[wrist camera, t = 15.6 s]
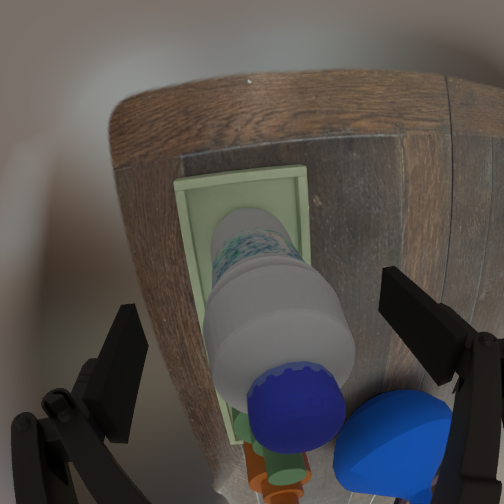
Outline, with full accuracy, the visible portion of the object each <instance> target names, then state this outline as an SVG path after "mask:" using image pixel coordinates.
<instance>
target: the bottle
mask: <svg viewBox="0 0 504 504" xmlns="http://www.w3.org/2000/svg"><path fill="white" fill-rule="evenodd" d="M210 254H211V262H212V291H211V293H210V295H209V297H208V300H207V303H206V307H205V316H204V320H203V339H204V343H205V346H206V351H207V355H208V360H209V365H210V371H211V376H212V380H213V383H214V386H215V388H216V390H217V392H218V393H219V395H220V396H221V398H222V399H223V400H224V401H226V402H227V403H228V404H229V405H230V406H231V407H233V408H235V409H237V410H238V411H240V412H243V413H246V414H248V418H249V424H250V428H251V431H252V433H253V435H254V437H255V439H256V440H257V442H258V443H259V444H261V445H262V446H264V447H265V448H267V449H268V450H270V451H273V452H276V453H280V454H296V453H302V452H306V451H310V450H313V449H316V448H318V447H320V446H322V445H324V444H326V443H327V442H329V441H330V440H331V439H333V438H334V437H335V436H336V435H337V434H338V433H339V431H340V429H341V428H342V426H343V424H344V420H345V418H346V405H345V401H344V398H343V395H342V393H341V391H340V389H341V387H342V386H343V385H344V384H345V382H346V381H347V379H348V378H349V376H350V374H351V372H352V369H353V366H354V363H355V353H356V348H355V343H354V339H353V336H352V334H351V331H350V329H349V326H348V324H347V321H346V319H345V316H344V314H343V311H342V308H341V304H340V301H339V299H338V297H337V294H336V293H335V291H334V290H333V288H332V287H331V285H330V284H329V283H328V282H326V281H325V279H324V278H323V277H322V275H321V274H320V273H319V272H318V271H317V270H315V269H314V268H313V267H312V266H311V265H309V264H307V263H305V261H304V260H303V258H302V257H301V255H300V254H299V252H298V251H297V249H296V248H295V246H294V245H293V243H292V241H291V238H290V236H289V234H288V232H287V231H286V229H285V227H284V226H283V224H282V223H281V222H280V221H279V220H278V219H277V218H276V217H275V216H274V215H272V214H271V213H270V212H268V211H266V210H263V209H255V208H239V209H236V210H234V211H233V212H231V213H230V214H229V215H227V216H226V217H225V218H224V219H223V220H222V221H220V222H219V223H218V224H217V225H216V227H215V229H214V232H213V235H212V239H211V246H210Z"/></svg>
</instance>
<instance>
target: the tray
mask: <svg viewBox="0 0 504 504" xmlns="http://www.w3.org/2000/svg"><path fill="white" fill-rule="evenodd" d="M173 184H174V191H175V197H176V203H177V209H178V216H179V221H180V227H181V233H182V239H183V244H184V250H185V255H186V261H187V266H188V271H189V276H190V281H191V286H192V291H193V296H194V301H195V305H196V310H197V315H198V319H199V324H200V328H201V333H202V337H203V320H204V316H205V307H206V303H207V300H208V297H209V295H210V293H211V291H212V262H211V254H210V246H211V239H212V235H213V232H214V229H215V227H216V225H217V224H218V223H219V222H220V221H222V220H223V219H224V218H225V217H226V216H227V215H229V214H230V213H231V212H233V211H234V210H236V209H239V208H255V209H263V210H266V211H268V212H270V213H271V214H272V215H274V216H275V217H276V218H277V219H278V220H279V221H280V222H281V223H282V224H283V226H284V227H285V229H286V231H287V232H288V234H289V236H290V238H291V241H292V243H293V245H294V246H295V248H296V249H297V251H298V252H299V254H300V255H301V257H302V258H303V260H304V261H305V263H307V264H309V265H311V249H310V223H309V202H308V185H307V168H306V166H304V165H301V164H295V165H283V166H272V167H262V168H252V169H243V170H235V171H226V172H219V173H211V174H204V175H197V176H190V177H183V178H177V179H176V180H175V181H174V182H173ZM203 341H204V339H203ZM204 346H205V343H204ZM205 350H206V346H205ZM206 354H207V351H206ZM207 358H208V355H207ZM208 362H209V360H208ZM209 366H210V365H209ZM215 390H216V388H215ZM216 394H217V398H218V401H219V405H220V409H221V412H222V416H223V420H224V423H225V427H226V430H227V434H228V437H229V441H230V444H231V445H234V444H242V443H244V441H243V440H242V439H240V438H239V437H238V436H237V435H236V433H235V431H234V428H233V419H232V407H231V406H230V405H229V404H228V403H227V402H226V401H224V400H223V399H222V398H221V396H220V395H219V393H218V392H217V390H216Z"/></svg>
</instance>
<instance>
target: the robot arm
mask: <svg viewBox="0 0 504 504" xmlns="http://www.w3.org/2000/svg"><path fill="white" fill-rule="evenodd" d="M378 311H379V312H380V313H381V315H382V316H383V317H384V318H385V319H386V321H387V322H388V323H389V324H390V326H391V327H392V328H393V329H394V330H395V332H396V333H397V334H398V335H399V337H400V338H401V339H402V340H403V342H404V343H405V344H406V345H407V347H408V348H409V349H410V350H411V352H412V353H413V354H414V355H415V357H416V358H417V359H418V361H419V362H420V363H421V364H422V366H423V367H424V368H425V370H426V371H427V372H428V373H429V375H430V376H431V377H432V379H433V380H434V381H435V383H436V384H437V385H438V386H441V385H443V384H446V383H448V382H450V381H451V380H452V378H453V375H454V373H455V371H456V373H457V374H458V375H459V378H458V380H457V383H456V385H455V387H454V390H453V392H452V393H453V394H454V393H455V391H456V394H455V401H454V407H453V414H452V419H451V425H450V430H449V435H448V440H447V444H446V449H445V453H444V457H443V461H442V465H441V469H440V473H439V476H438V480H437V483H436V486H435V490H434V493H433V496H432V499H431V502H430V504H499V502H500V496H501V491H502V483H501V481H498V480H497V479H496V473H497V466H498V457H499V449H500V435H501V418H502V422H503V428H504V338H503V339H497V338H496V337H495V336H494V335H492V334H491V333H488V332H479V333H478V332H477V331H476V330H475V329H474V328H472V327H471V326H470V325H469V324H468V323H467V322H466V321H465V320H464V319H463V318H462V319H461V317H460V316H459V315H458V314H456V312H455V311H454V310H453V309H452V308H450V307H449V306H447V305H445V304H443V303H439V304H438V303H437V302H435V301H434V300H433V299H432V298H431V297H430V296H429V295H428V294H426V293H425V292H424V291H423V290H422V289H421V288H420V287H418V286H417V285H416V284H415V283H414V282H413V281H412V280H410V279H409V278H408V277H407V276H406V275H405V274H403V273H402V272H401V271H400V270H399V269H397V268H396V267H395V266H391V267H386V268H383V271H382V282H381V292H380V301H379V309H378ZM147 350H148V343H147V340H146V337H145V334H144V331H143V328H142V325H141V322H140V319H139V316H138V313H137V309H136V306H135V304H126V305H121V306H120V309H119V311H118V313H117V315H116V317H115V319H114V322H113V324H112V326H111V328H110V331H109V333H108V335H107V338H106V340H105V342H104V345H103V347H102V349H101V352H100V354H99V356H98V358H94V359H93V358H91V359H89V360H88V361H87V362H86V363H85V364H84V365H83V366H82V368H81V371H80V373H79V376H78V377H77V380H76V382H75V384H74V387H73V389H72V392H71V394H70V393H69V392H68V391H67V390H66V389H63V388H58V389H54V390H51V391H50V392H48V393H47V394H46V395H45V396H44V398H43V399H42V402H41V405H42V408H43V410H44V411H45V413H46V414H47V415H48V417H49V418H44V419H38V420H37V418H36V417H35V416H34V415H33V414H32V413H29V412H23V413H21V414H19V415H17V416H16V417H15V418H14V420H13V421H12V425H11V452H12V469H13V480H14V490H15V498H16V504H79V503H78V500H77V496H76V493H75V489H74V485H73V482H72V477H71V473H70V469H69V465H68V462H73V464H74V466H75V468H76V470H77V471H78V473H79V475H80V477H81V478H82V480H83V482H84V483H85V485H86V487H87V488H88V490H89V492H90V493H91V495H92V496H93V498H94V499H95V501H96V502H97V504H151V503H150V502H149V501H148V499H147V498H146V497H145V496H144V495H143V494H142V492H141V491H140V490H139V489H138V488H137V486H136V485H135V484H134V483H133V482H132V480H131V479H130V478H129V476H128V475H127V474H126V473H125V471H124V470H123V469H122V468H121V466H120V465H119V463H117V461H116V459H115V458H114V457H113V456H112V454H111V453H110V451H109V450H108V448H107V447H106V446H105V445H104V443H103V442H104V438H105V435H106V437H107V438H108V440H109V441H110V442H111V443H124V444H127V443H128V439H129V434H130V428H131V423H132V418H133V413H134V408H135V403H136V398H137V394H138V389H139V385H140V380H141V376H142V371H143V367H144V362H145V358H146V354H147Z"/></svg>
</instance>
